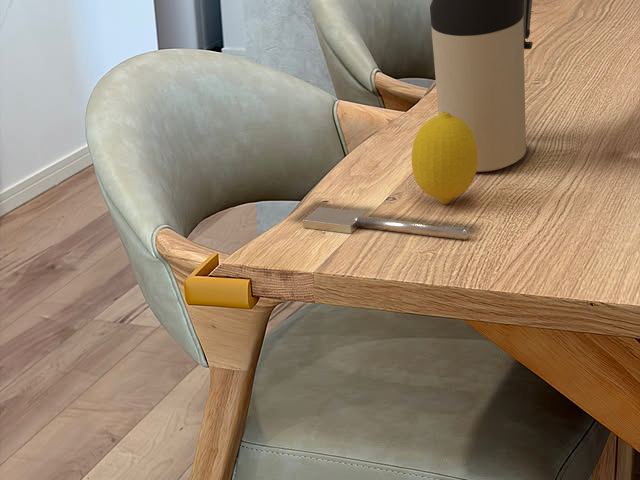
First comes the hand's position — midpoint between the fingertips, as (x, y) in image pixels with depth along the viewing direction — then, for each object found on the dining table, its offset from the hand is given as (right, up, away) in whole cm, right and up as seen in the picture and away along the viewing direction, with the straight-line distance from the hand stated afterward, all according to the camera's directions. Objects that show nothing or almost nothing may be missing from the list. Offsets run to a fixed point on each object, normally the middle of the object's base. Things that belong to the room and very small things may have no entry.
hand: (506, 117), depth 92 cm
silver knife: (-14, -13, -18) cm, 26 cm away
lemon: (-8, -11, -13) cm, 19 cm away
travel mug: (-3, -5, -4) cm, 7 cm away
